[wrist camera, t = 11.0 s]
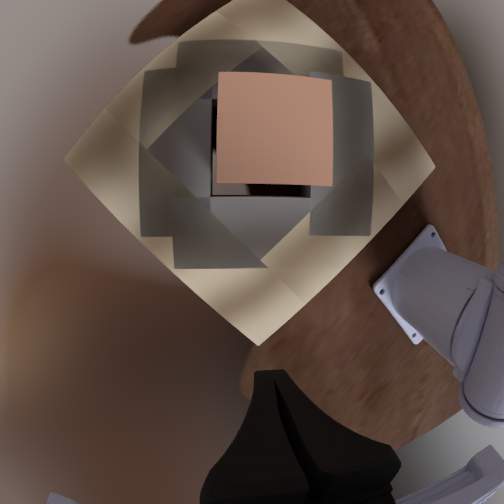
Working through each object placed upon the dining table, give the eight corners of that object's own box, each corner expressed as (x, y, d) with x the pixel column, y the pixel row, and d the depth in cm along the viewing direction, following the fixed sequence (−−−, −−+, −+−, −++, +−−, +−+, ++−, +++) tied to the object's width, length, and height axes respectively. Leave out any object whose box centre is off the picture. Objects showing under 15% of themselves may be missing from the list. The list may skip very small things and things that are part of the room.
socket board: (417, 167, 20) (435, 166, 18) (255, 329, 22) (258, 345, 20) (258, 0, 16) (262, -17, 13) (79, 161, 18) (63, 160, 15)
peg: (292, 115, 18) (331, 80, 11) (292, 183, 20) (332, 186, 12) (221, 112, 18) (218, 71, 10) (220, 182, 19) (216, 183, 11)
